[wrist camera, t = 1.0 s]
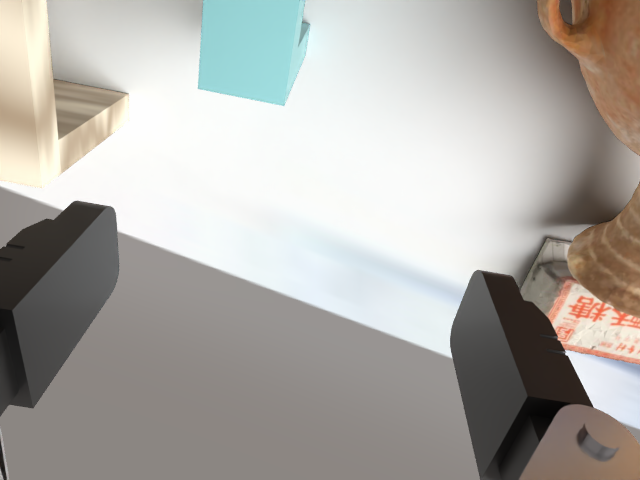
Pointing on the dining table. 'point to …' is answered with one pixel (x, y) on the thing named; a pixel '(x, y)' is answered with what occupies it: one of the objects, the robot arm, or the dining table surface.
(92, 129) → the shelf
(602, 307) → the packaged product
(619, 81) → the orange-brown rounded sculpted piece
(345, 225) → the dining table surface
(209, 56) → the teal arch block
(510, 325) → the robot arm
